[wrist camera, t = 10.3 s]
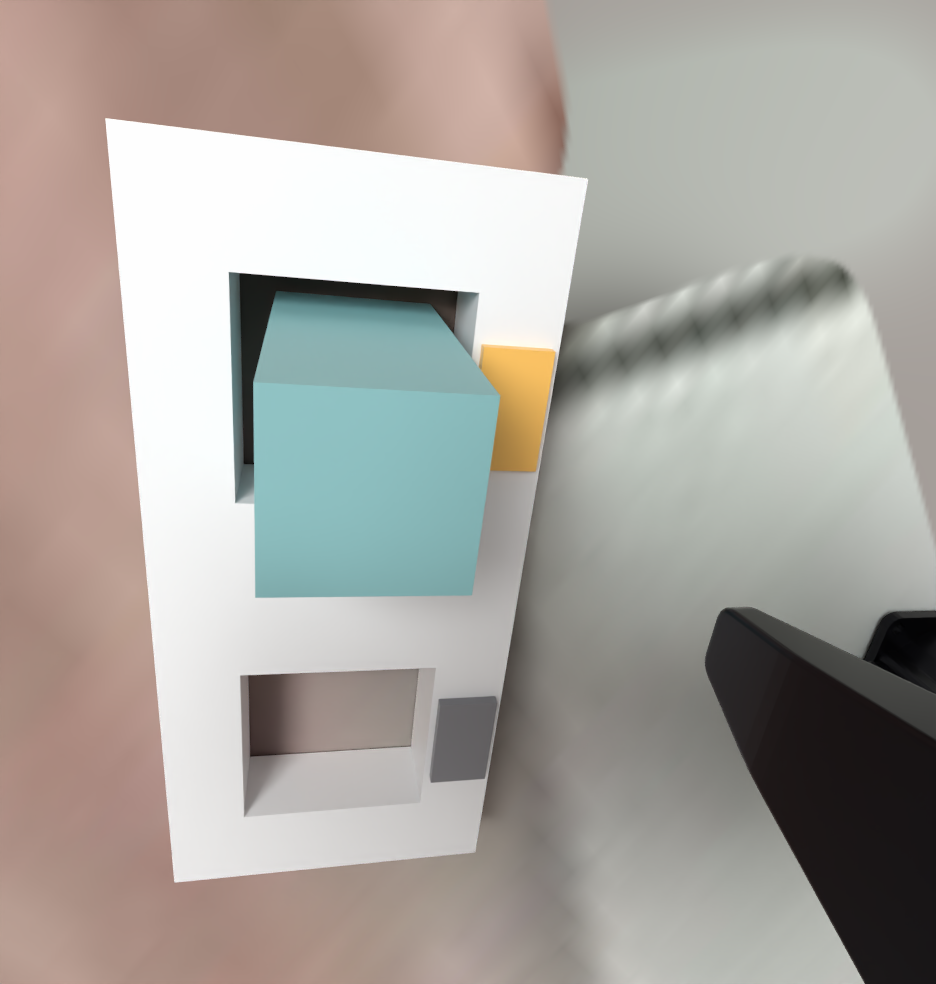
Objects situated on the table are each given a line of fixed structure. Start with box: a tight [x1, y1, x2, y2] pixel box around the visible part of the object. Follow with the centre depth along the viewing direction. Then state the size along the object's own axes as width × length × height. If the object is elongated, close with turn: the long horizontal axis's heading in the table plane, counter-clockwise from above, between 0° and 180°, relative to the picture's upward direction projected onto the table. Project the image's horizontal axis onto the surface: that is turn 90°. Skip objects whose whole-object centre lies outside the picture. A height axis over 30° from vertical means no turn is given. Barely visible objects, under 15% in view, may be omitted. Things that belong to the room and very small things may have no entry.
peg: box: [253, 291, 500, 598], centre depth 16 cm, size 4×4×8 cm
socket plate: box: [105, 118, 588, 882], centre depth 20 cm, size 10×22×3 cm, turn 174°
